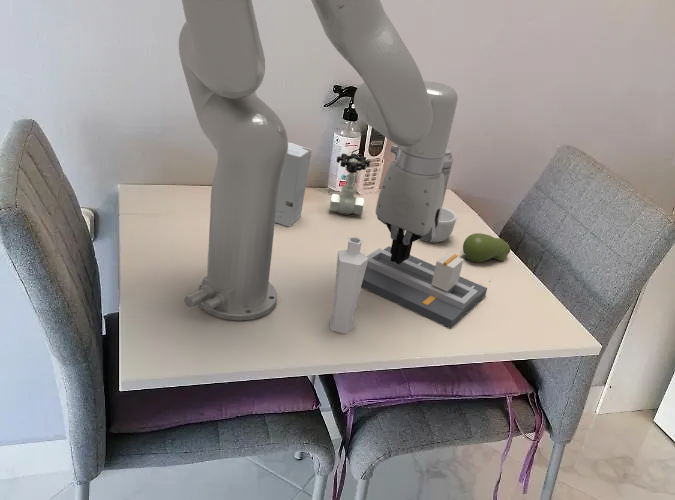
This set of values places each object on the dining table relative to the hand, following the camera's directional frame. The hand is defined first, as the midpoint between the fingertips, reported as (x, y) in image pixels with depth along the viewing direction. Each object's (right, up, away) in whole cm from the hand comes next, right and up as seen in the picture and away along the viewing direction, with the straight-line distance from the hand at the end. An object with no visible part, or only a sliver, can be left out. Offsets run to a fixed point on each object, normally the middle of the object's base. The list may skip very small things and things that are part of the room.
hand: (398, 260), depth 118 cm
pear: (+18, 0, +14) cm, 22 cm away
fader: (+7, -5, -3) cm, 9 cm away
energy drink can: (+8, +9, +27) cm, 30 cm away
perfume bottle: (-10, -10, -13) cm, 19 cm away
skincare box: (-22, +8, +17) cm, 29 cm away
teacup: (+7, +4, +18) cm, 20 cm away
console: (+3, -5, 0) cm, 6 cm away
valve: (-9, +9, +23) cm, 26 cm away
